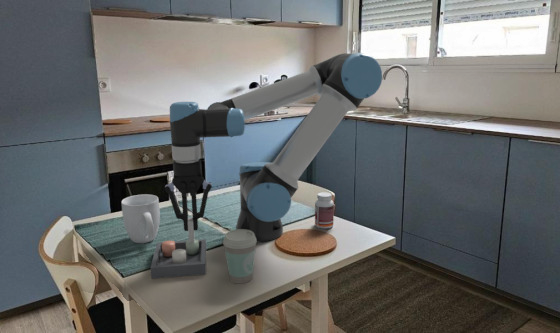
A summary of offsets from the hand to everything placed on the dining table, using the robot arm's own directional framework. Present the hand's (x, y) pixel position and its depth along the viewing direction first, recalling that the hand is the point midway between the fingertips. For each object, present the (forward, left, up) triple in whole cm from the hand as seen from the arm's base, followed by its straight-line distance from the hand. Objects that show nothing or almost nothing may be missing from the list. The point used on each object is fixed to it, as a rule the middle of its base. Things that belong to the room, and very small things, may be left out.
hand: (191, 240), depth 126 cm
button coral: (+6, 0, -3) cm, 7 cm away
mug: (+15, -15, -5) cm, 22 cm away
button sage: (0, 0, -3) cm, 3 cm away
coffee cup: (-13, +14, -5) cm, 20 cm away
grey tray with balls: (+3, +3, -5) cm, 7 cm away
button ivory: (+3, +6, -3) cm, 8 cm away
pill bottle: (-43, -17, -5) cm, 46 cm away
